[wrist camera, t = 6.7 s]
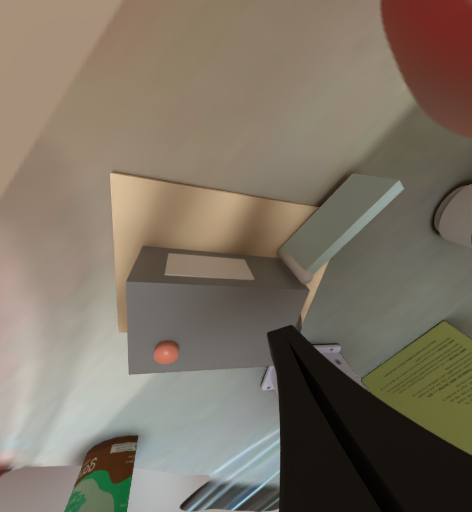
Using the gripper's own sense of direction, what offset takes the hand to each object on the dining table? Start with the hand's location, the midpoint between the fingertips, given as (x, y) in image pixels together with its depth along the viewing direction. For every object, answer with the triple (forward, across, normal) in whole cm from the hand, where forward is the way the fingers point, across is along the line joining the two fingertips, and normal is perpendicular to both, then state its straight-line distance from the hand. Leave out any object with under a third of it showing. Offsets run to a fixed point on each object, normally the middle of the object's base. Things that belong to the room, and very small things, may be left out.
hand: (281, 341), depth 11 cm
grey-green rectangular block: (+9, -7, -2) cm, 11 cm away
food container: (+10, +25, +24) cm, 35 cm away
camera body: (+9, +3, +2) cm, 10 cm away
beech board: (+10, +1, +1) cm, 10 cm away
